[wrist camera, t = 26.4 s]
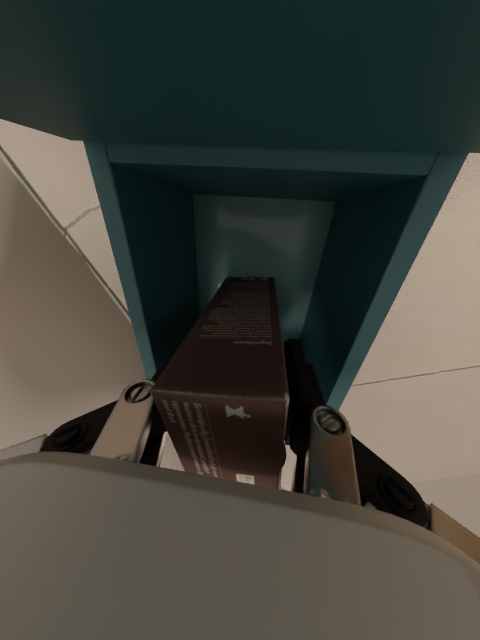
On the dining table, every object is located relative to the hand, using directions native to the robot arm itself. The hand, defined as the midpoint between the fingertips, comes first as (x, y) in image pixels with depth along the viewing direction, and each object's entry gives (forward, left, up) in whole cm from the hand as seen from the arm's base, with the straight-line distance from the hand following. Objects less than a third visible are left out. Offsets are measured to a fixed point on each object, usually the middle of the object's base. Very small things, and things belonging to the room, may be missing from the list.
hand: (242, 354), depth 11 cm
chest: (0, +2, -8) cm, 8 cm away
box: (0, 0, -7) cm, 7 cm away
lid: (0, +8, +9) cm, 12 cm away
